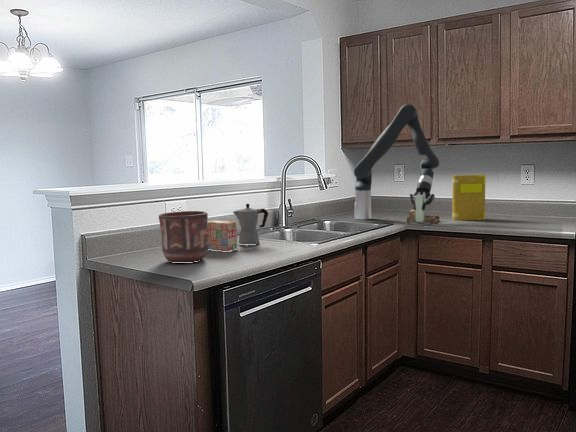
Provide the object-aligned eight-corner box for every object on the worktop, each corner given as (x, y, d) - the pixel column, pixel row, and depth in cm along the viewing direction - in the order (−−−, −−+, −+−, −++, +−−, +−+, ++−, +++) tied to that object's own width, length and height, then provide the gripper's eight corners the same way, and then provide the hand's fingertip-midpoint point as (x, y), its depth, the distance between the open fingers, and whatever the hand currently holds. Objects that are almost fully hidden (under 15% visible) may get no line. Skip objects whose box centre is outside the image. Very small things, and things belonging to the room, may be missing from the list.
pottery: (203, 255, 204) (200, 209, 202) (215, 262, 188) (212, 213, 186) (158, 260, 197) (154, 213, 195) (166, 268, 181) (162, 217, 179)
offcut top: (409, 215, 286) (409, 211, 285) (412, 214, 293) (412, 209, 293) (416, 215, 284) (416, 211, 284) (419, 214, 292) (419, 209, 291)
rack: (406, 222, 285) (406, 217, 285) (412, 220, 295) (412, 215, 295) (434, 223, 278) (434, 218, 277) (439, 220, 288) (439, 215, 288)
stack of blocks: (189, 249, 219) (187, 220, 218) (199, 247, 224) (198, 219, 223) (228, 253, 207) (226, 222, 206) (238, 250, 212) (236, 221, 211)
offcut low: (408, 220, 286) (408, 215, 286) (412, 218, 294) (412, 214, 294) (415, 220, 284) (415, 215, 284) (419, 218, 292) (419, 214, 292)
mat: (408, 224, 275) (408, 223, 275) (412, 223, 282) (412, 222, 282) (427, 225, 271) (427, 224, 271) (431, 223, 278) (431, 222, 278)
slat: (415, 221, 276) (415, 195, 274) (417, 220, 279) (417, 194, 277) (422, 221, 274) (422, 195, 272) (424, 220, 277) (424, 194, 276)
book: (481, 218, 294) (482, 174, 291) (485, 219, 287) (485, 174, 284) (451, 219, 295) (451, 175, 293) (453, 220, 289) (454, 175, 286)
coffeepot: (233, 246, 222) (231, 205, 220) (234, 243, 231) (233, 203, 229) (269, 245, 222) (267, 203, 220) (269, 242, 232) (267, 202, 230)
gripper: (410, 180, 284) (404, 204, 275) (436, 180, 277) (431, 205, 268) (413, 189, 289) (407, 213, 280) (438, 189, 282) (433, 214, 273)
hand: (418, 209), depth 274 cm, fingers closed on slat, 3 cm apart
